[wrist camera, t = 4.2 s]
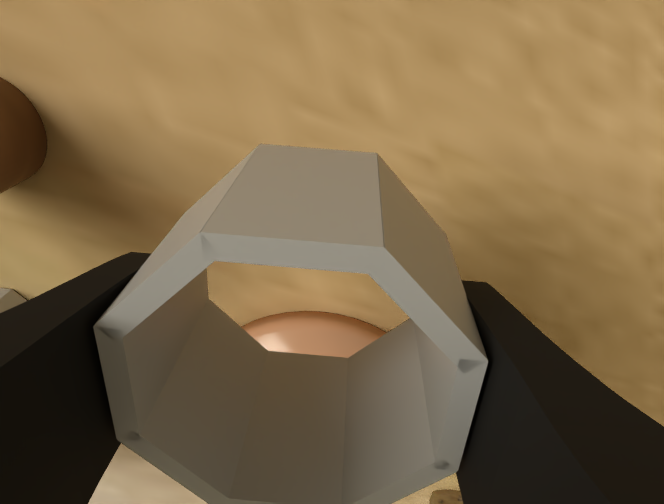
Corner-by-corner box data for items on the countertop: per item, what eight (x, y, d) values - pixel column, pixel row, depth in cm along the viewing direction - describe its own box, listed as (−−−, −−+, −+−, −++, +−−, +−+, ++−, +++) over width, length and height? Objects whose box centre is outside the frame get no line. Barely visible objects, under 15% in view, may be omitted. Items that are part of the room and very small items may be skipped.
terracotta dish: (415, 496, 23) (418, 520, 22) (204, 475, 23) (196, 499, 22) (454, 323, 18) (459, 343, 17) (188, 300, 18) (177, 319, 17)
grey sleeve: (418, 376, 12) (440, 532, 9) (196, 357, 12) (130, 503, 9) (460, 159, 10) (516, 258, 6) (177, 137, 10) (71, 221, 6)
